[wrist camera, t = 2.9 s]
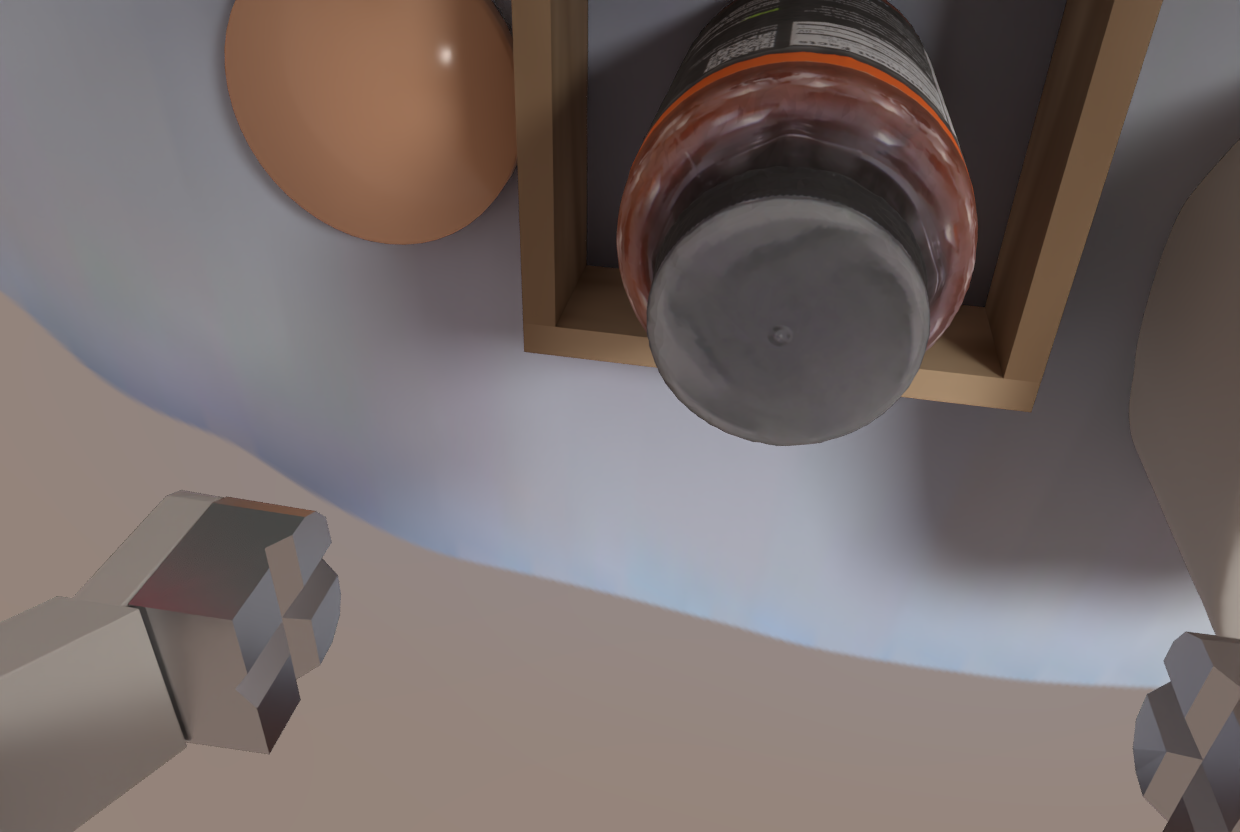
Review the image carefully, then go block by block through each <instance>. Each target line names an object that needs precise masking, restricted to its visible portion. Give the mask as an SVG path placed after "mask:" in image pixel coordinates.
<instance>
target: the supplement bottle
mask: <svg viewBox="0 0 1240 832" xmlns="http://www.w3.org/2000/svg"><path fill="white" fill-rule="evenodd" d="M977 231H978V223H977V212H976V204H975V198H974V192H973V187H972V184H971V180H970V177H969V174H968V170H967V167H966V164H965V160H964V156H963V154H962V151H961V148H960V145H959V142H958V140H957V137H956V134H955V131H954V128H953V125H952V122H951V119H950V116H949V113H948V111H947V108H946V105H945V102H944V99H943V96H942V93H941V91H940V88H939V85H938V82H937V79H936V76H935V73H934V70H933V67H932V64H931V62H930V59H929V57H928V55H927V52H926V51H925V49H924V46H923V44H922V42H921V40H920V38H919V36H918V35H917V34H916V33H915V31H914V29H913V27H912V25H911V24H910V23H909V22H908V20H907V19H906V18H905V17H904V16H903V15H902V14H901V13H900V11H899V10H898V9H896V8H895V7H894V6H893V5H891V4H890V3H889V2H888V1H886V0H735V1H734V2H732V3H731V4H730V5H728V6H727V7H725V8H724V9H723V10H722V11H721V12H720V13H719V14H718V15H717V16H716V17H714V18H713V19H712V20H711V22H710V23H709V24H708V25H707V26H706V27H705V28H704V29H703V30H702V32H701V33H700V35H699V36H698V38H697V39H696V40H695V41H694V42H693V44H692V46H691V48H690V49H689V51H688V53H687V55H686V57H685V59H684V61H683V63H682V65H681V67H680V69H679V71H678V73H677V75H676V77H675V79H674V80H673V83H672V85H671V87H670V89H669V91H668V93H667V95H666V97H665V99H664V100H663V102H662V104H661V106H660V108H659V111H658V113H657V115H656V117H655V119H654V120H653V122H652V124H651V127H650V129H649V131H648V132H647V134H646V136H645V137H644V139H643V142H642V145H641V148H640V150H639V152H638V154H637V155H636V158H635V160H634V162H633V164H632V167H631V169H630V172H629V176H628V180H627V182H626V185H625V188H624V192H623V195H622V199H621V204H620V209H619V215H618V224H617V237H616V243H617V254H618V263H619V270H620V274H621V278H622V281H623V285H624V288H625V291H626V293H627V296H628V299H629V301H630V304H631V306H632V308H633V310H634V312H635V314H636V316H637V318H638V320H639V322H640V323H641V325H642V326H643V328H644V330H645V331H646V333H647V337H648V340H649V347H650V350H651V353H652V356H653V359H654V362H655V364H656V366H657V368H658V370H659V373H660V375H661V376H662V378H663V380H664V381H665V383H666V384H667V386H668V387H669V388H670V389H671V391H672V392H673V393H674V394H675V396H676V397H677V398H678V400H680V401H681V402H682V403H683V404H684V405H685V406H686V407H687V408H688V409H689V410H690V411H692V412H693V413H695V414H696V415H697V416H698V417H700V418H701V419H703V420H705V421H706V422H707V423H709V424H710V425H712V426H715V427H717V428H718V429H720V430H722V431H724V432H726V433H728V434H731V435H734V436H737V437H740V438H743V439H746V440H749V441H752V442H761V443H765V444H769V445H776V446H792V445H804V444H814V443H821V442H824V441H827V440H830V439H835V438H838V437H841V436H844V435H847V434H849V433H852V432H854V431H856V430H858V429H860V428H861V427H863V426H866V425H868V424H869V423H871V422H872V421H873V420H875V419H876V418H878V417H879V416H881V415H882V414H883V413H885V412H886V411H887V410H888V409H889V408H890V407H891V406H892V405H893V404H894V403H895V402H896V401H897V400H898V399H899V398H900V397H901V396H902V395H903V393H904V392H905V391H906V390H907V389H908V388H909V386H910V384H911V383H912V381H913V379H914V377H915V376H916V374H917V372H918V371H919V369H920V366H921V363H922V360H923V357H924V354H925V352H926V351H927V350H928V349H929V348H931V347H932V346H933V345H934V344H935V342H936V341H937V340H938V339H939V338H940V337H941V336H942V334H943V333H944V331H945V330H946V329H947V328H948V327H949V326H950V324H951V322H952V320H953V318H954V316H955V315H956V313H957V312H958V310H959V308H960V306H961V304H962V302H963V299H964V297H965V294H966V292H967V290H968V289H969V285H970V281H971V277H972V273H973V270H974V265H975V259H976V247H977V240H978V234H977Z"/></svg>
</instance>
